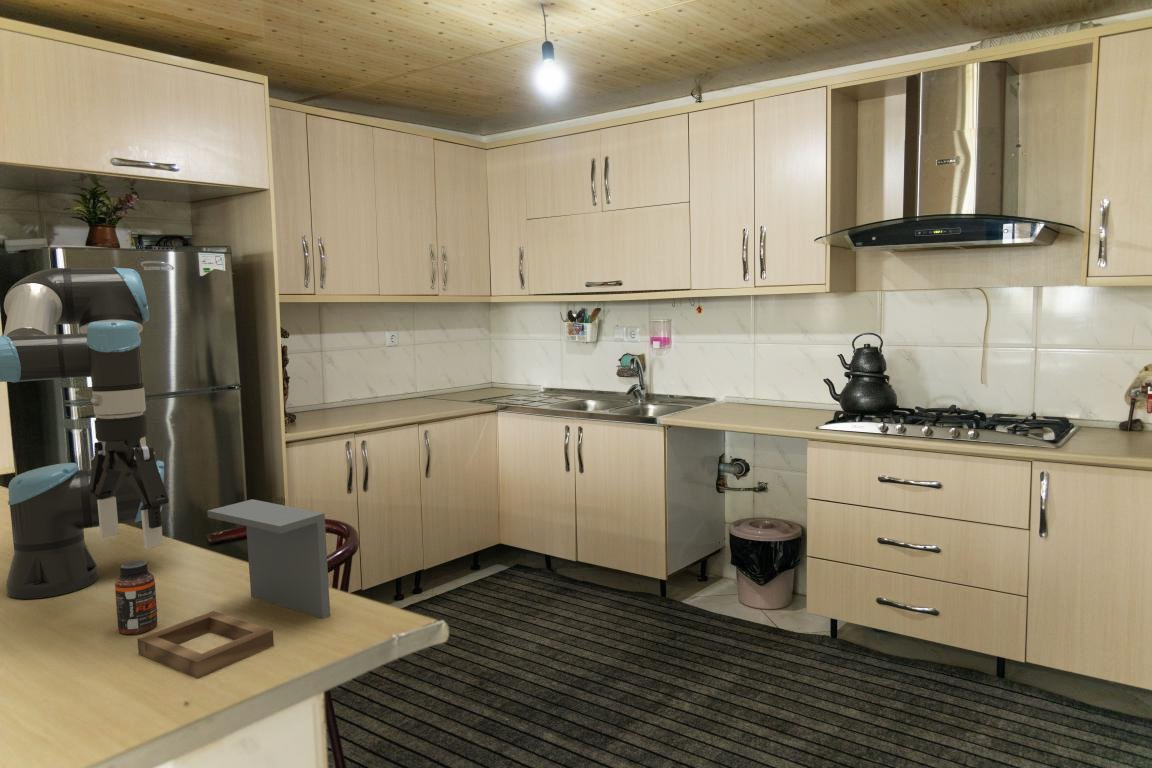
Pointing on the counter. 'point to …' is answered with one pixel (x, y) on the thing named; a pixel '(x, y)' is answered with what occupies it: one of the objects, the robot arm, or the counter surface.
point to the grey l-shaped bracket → (284, 554)
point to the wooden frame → (196, 664)
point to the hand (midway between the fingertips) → (131, 541)
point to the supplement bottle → (135, 598)
